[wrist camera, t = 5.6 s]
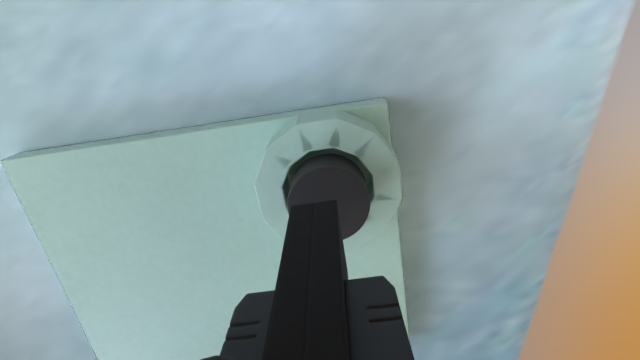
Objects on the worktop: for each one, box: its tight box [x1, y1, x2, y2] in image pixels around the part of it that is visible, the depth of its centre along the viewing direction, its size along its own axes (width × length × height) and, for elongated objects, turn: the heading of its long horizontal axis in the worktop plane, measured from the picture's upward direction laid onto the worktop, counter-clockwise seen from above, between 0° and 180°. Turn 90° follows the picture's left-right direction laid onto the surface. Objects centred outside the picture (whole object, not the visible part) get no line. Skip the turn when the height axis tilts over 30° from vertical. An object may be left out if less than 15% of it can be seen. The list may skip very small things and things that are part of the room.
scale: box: [1, 98, 410, 360], centre depth 19 cm, size 18×14×3 cm
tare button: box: [287, 153, 370, 240], centre depth 16 cm, size 3×3×2 cm
